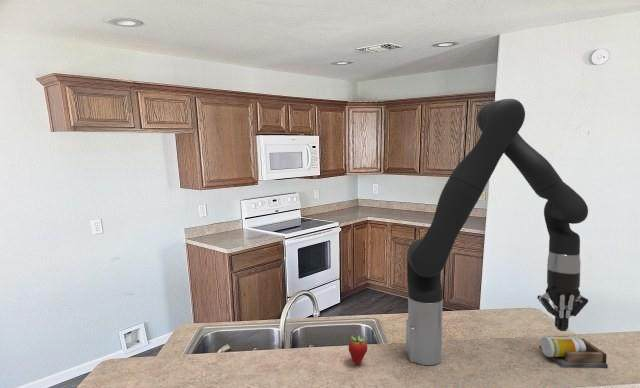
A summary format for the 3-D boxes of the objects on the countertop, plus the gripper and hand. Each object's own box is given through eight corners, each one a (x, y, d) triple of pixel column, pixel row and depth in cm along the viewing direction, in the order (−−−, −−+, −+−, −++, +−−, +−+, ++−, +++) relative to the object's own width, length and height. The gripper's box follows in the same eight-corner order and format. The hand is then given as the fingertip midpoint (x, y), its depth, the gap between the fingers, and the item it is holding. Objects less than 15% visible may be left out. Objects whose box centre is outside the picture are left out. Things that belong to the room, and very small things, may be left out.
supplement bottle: (550, 361, 96) (586, 361, 96) (553, 343, 95) (589, 343, 95) (538, 348, 102) (573, 348, 102) (541, 331, 101) (575, 331, 100)
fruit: (367, 359, 99) (367, 331, 99) (367, 369, 94) (367, 340, 94) (349, 358, 100) (348, 330, 100) (348, 368, 95) (348, 339, 94)
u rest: (560, 367, 95) (561, 354, 94) (539, 348, 105) (539, 337, 104) (607, 368, 94) (608, 355, 94) (581, 349, 104) (581, 337, 104)
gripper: (546, 272, 95) (545, 335, 96) (598, 272, 94) (595, 336, 95) (531, 265, 102) (529, 324, 103) (578, 265, 101) (576, 324, 102)
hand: (561, 329), depth 99 cm, fingers closed
